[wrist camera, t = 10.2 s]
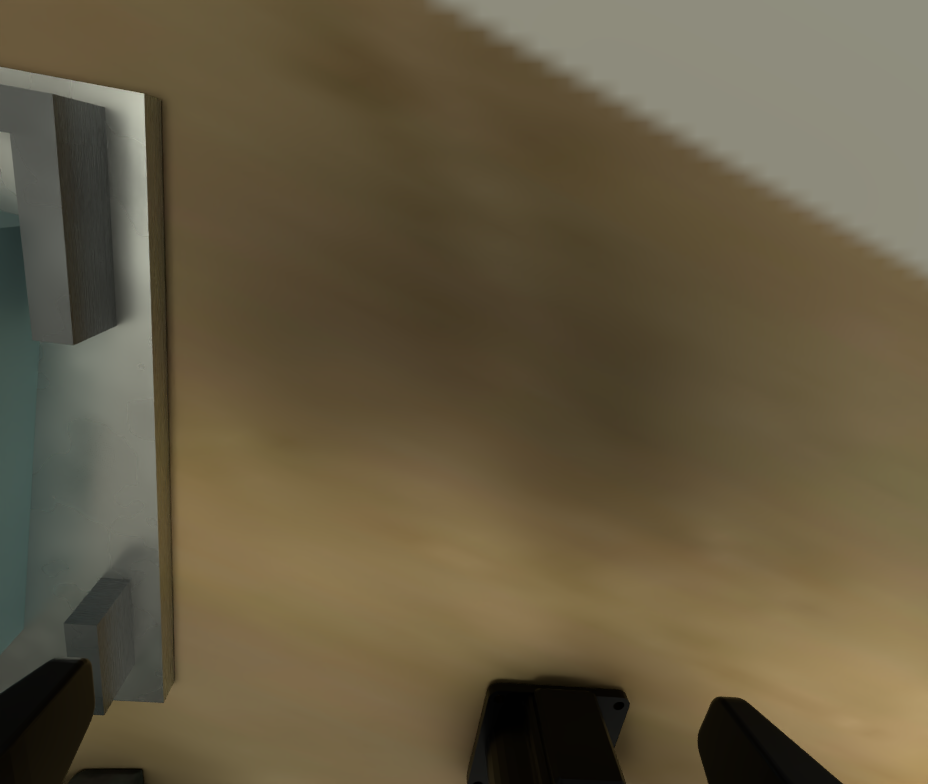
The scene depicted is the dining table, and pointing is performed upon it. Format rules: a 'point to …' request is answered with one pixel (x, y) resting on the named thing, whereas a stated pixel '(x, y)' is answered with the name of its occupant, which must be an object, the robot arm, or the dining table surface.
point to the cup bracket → (93, 381)
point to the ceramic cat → (108, 777)
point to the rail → (15, 428)
